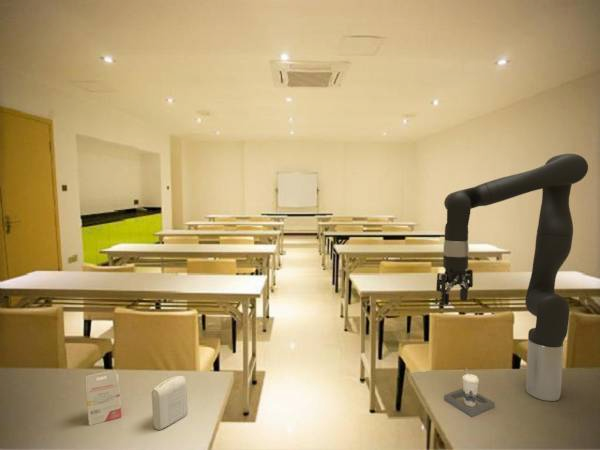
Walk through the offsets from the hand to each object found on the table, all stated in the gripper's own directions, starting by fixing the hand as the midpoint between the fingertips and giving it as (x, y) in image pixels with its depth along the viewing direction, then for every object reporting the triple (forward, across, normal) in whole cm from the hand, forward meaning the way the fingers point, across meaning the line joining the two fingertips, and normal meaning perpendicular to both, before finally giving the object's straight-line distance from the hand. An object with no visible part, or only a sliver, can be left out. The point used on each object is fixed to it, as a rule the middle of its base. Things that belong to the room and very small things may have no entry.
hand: (454, 302), depth 124 cm
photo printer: (+28, +87, -25) cm, 95 cm away
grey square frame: (+28, +5, +10) cm, 30 cm away
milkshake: (+28, +5, +10) cm, 31 cm away
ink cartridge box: (+28, +104, -36) cm, 114 cm away
